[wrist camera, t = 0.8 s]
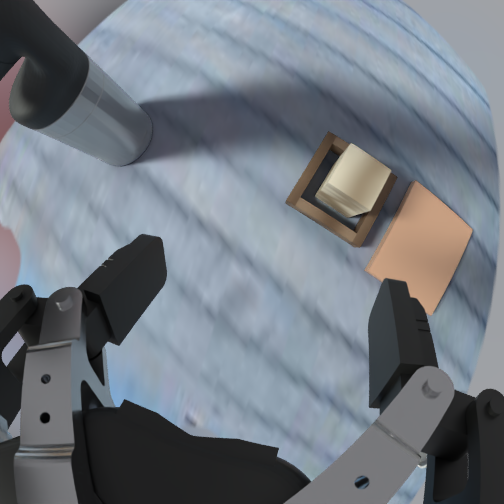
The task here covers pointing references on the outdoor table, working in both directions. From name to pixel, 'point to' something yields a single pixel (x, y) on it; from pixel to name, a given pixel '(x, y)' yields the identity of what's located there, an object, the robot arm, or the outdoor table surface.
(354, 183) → the ash block
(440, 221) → the terracotta tile
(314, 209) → the walnut pocket frame
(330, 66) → the outdoor table surface
